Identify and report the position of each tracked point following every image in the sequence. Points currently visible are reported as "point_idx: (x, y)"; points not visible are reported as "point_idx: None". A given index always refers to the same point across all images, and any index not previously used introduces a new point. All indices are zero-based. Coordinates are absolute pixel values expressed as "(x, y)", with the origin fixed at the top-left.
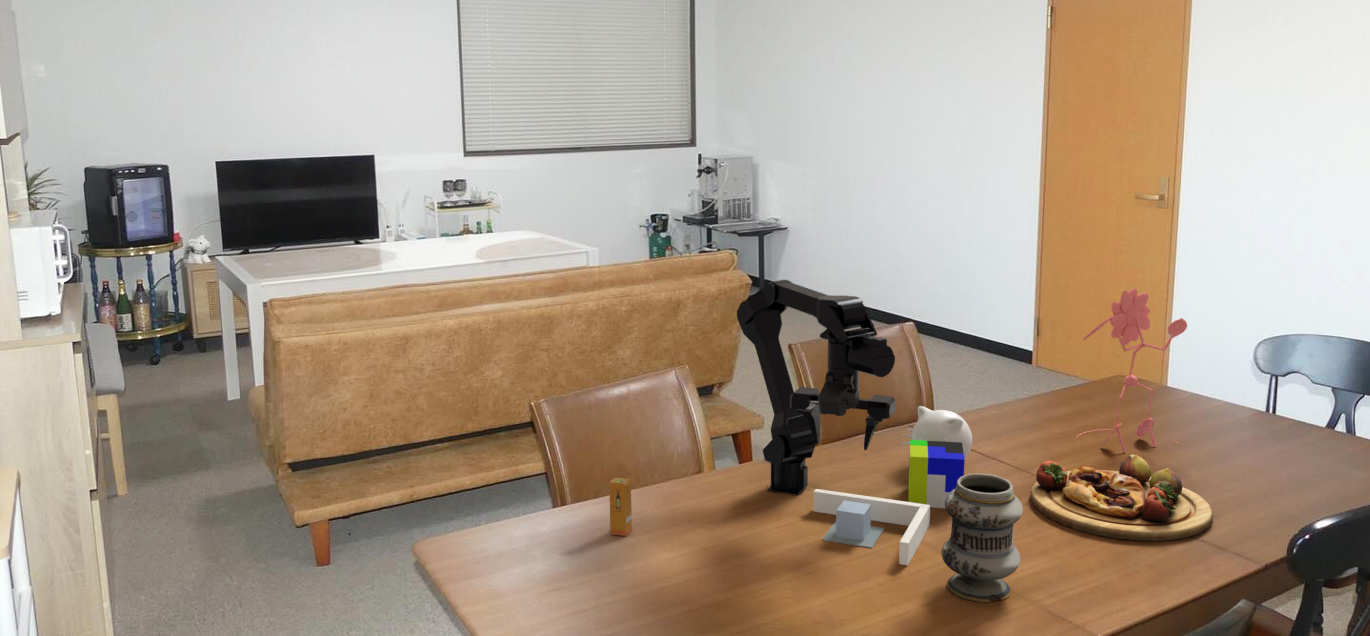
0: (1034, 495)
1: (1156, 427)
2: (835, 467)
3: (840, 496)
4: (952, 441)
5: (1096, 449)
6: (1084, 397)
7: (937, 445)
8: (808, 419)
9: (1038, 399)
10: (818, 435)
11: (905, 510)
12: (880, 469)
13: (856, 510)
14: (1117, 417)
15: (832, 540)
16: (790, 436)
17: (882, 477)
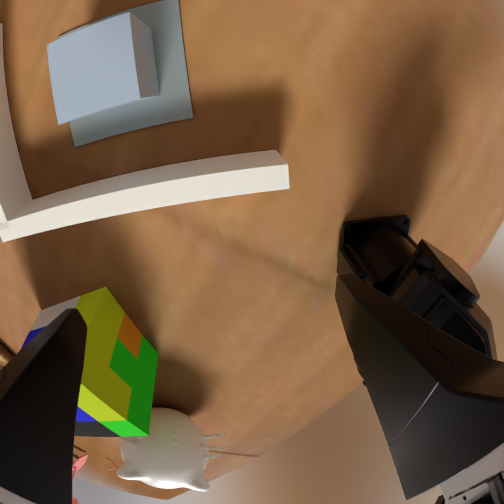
0: (5, 361)
1: (92, 470)
2: (309, 364)
3: (196, 174)
4: (127, 444)
5: (87, 451)
6: (164, 490)
7: (89, 425)
8: (478, 362)
9: (188, 488)
10: (354, 317)
11: (37, 207)
12: (237, 385)
13: (73, 52)
14: (72, 475)
15: (150, 6)
16: (451, 305)
17: (218, 367)
